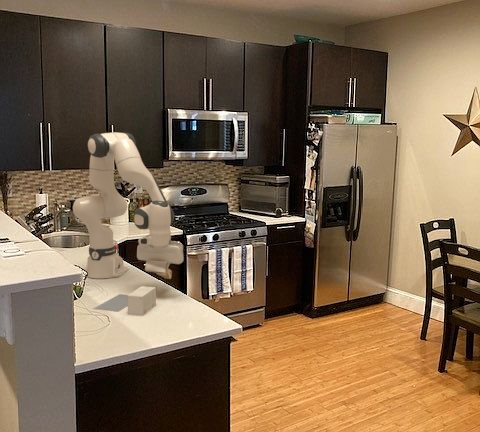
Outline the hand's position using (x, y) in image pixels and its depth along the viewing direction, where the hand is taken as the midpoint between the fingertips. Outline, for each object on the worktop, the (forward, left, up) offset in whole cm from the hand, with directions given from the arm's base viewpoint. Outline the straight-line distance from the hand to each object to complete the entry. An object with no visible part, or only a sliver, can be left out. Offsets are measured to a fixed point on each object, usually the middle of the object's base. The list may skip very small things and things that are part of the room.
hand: (160, 271), depth 220 cm
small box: (+12, +1, -7) cm, 14 cm away
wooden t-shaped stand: (-1, 0, -2) cm, 2 cm away
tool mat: (+14, -12, -11) cm, 21 cm away
